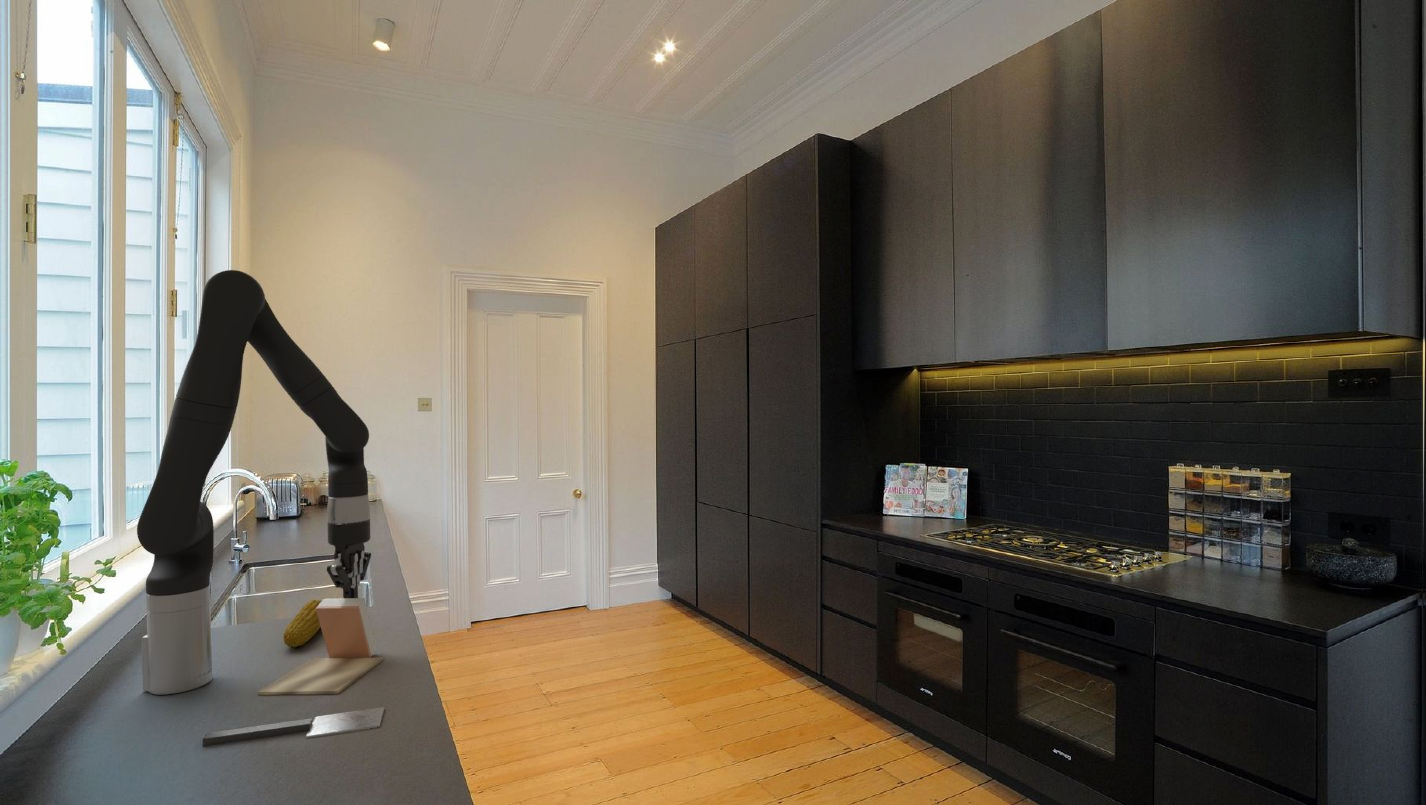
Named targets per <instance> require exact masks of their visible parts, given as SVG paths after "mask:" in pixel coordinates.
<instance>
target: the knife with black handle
mask: <svg viewBox="0 0 1426 805" xmlns="http://www.w3.org/2000/svg"><path fill="white" fill-rule="evenodd" d="M384 712H385V706H383V707H374V708H368V709H367V708H366V709H360V710H354V711H347V712H340V713H333V714H332V713H331V714H325V715H317V716H315V717H314V719H313V718H305V719H297V720H291V721H290V720H289V721H282V722H275V723H270V724H261V725H256V726H255V725H254V726H248V727H240V728H234V729H227V730H219V731H213V732H207V733H206V734H205V735H204V736H203V738H202V748H204V747H205V748H206V747H209V746H210V747H211V746H216V745H224V744H230V743H238V742H245V741H251V740H258V739H260V740H261V739H265V738H271V737H280V736H285V735H287V736H288V735H293V734H298V733H299V734H300V733H306V732H307V733H306V735H305V736H306V737H305V738H306V739H310V738H312V739H313V738H317V737H323V736H331V735H332V736H333V735H337V734H345V733H350V732H351V733H353V732H359V731H366V730H371V729H370V728H373V729H378V728H377V727H379V728H380V727H381V724H382V719H383V717H382V716H384Z"/></svg>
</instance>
